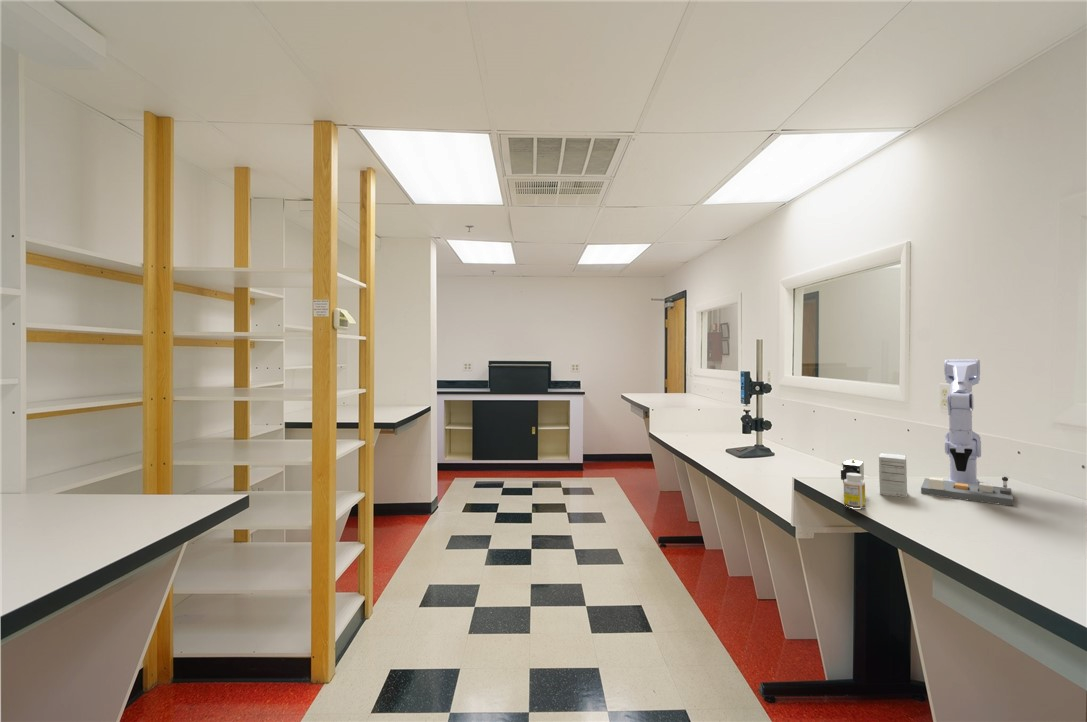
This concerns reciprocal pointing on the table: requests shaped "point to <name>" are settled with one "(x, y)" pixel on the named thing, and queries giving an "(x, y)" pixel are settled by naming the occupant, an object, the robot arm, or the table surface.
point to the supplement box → (893, 474)
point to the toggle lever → (1005, 481)
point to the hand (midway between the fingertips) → (961, 470)
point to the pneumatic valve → (852, 468)
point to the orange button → (961, 486)
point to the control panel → (970, 492)
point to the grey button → (986, 487)
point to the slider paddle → (936, 483)
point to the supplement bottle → (854, 491)
